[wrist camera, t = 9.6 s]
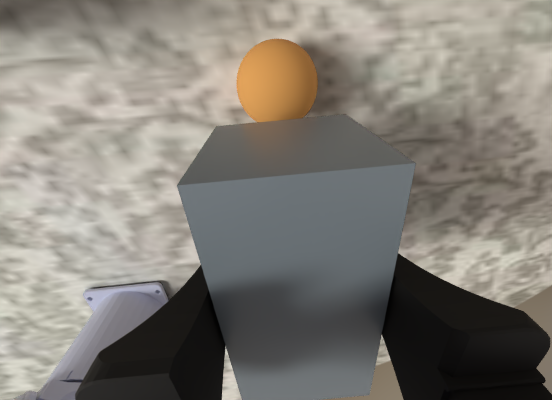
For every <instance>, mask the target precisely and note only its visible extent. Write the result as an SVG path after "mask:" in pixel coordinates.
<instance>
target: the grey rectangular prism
mask: <svg viewBox="0 0 552 400" xmlns="http://www.w3.org/2000/svg"><path fill="white" fill-rule="evenodd" d="M415 165H416V163H415V162H414V161H412V160H411V159H409V158H408V157H406V156H405V155H403V154H402V153H401V152H399V151H398V150H396V149H395V148H393V147H392V146H391V145H389V144H388V143H386V142H385V141H383V140H382V139H381V138H379V137H378V136H376V135H375V134H373V133H372V132H371V131H369V130H368V129H366V128H365V127H363V126H362V125H360V124H359V123H358V122H356V121H355V120H353V119H352V118H350V117H349V116H348V115H346V114H343V115H332V116H321V117H311V118H300V119H289V120H279V121H268V122H257V123H247V124H236V125H226V126H216V127H215V129H214V130H213V132H212V133H211V135H210V136H209V138H208V140H207V141H206V143H205V144H204V146H203V147H202V149H201V150H200V152H199V153H198V155H197V156H196V158H195V159H194V161H193V162H192V164H191V165H190V167H189V168H188V170H187V171H186V173H185V174H184V176H183V177H182V179H181V180H180V182H179V183H178V185H177V187H178V191H179V194H180V197H181V200H182V204H183V207H184V210H185V214H186V217H187V220H188V223H189V227H190V230H191V233H192V237H193V240H194V243H195V246H196V250H197V253H198V256H199V260H200V263H201V266H202V269H203V273H204V276H205V279H206V283H207V286H208V289H209V292H210V296H211V299H212V302H213V305H214V309H215V312H216V315H217V319H218V322H219V325H220V328H221V332H222V335H223V338H224V342H225V345H226V348H227V351H228V355H229V358H230V361H231V365H232V368H233V371H234V374H235V378H236V381H237V384H238V388H239V391H240V394H241V397H242V400H320V399H332V398H341V397H352V396H364V395H369V394H370V389H371V385H372V379H373V374H374V370H375V365H376V360H377V355H378V350H379V345H380V340H381V335H382V330H383V325H384V320H385V315H386V310H387V305H388V300H389V295H390V290H391V285H392V280H393V275H394V270H395V265H396V260H397V255H398V250H399V245H400V240H401V235H402V230H403V225H404V220H405V215H406V210H407V205H408V200H409V195H410V190H411V185H412V180H413V175H414V170H415Z"/></svg>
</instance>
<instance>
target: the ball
mask: <svg viewBox="0 0 552 400" xmlns="http://www.w3.org/2000/svg"><path fill="white" fill-rule="evenodd" d="M317 88H318V78H317V72H316V69H315V66H314V63H313V61H312V60H311V58H310V56H309V55H308V54H307V52H306V51H305V50H304V49H303V48H301V47H300V46H299V45H297V44H295V43H294V42H291V41H289V40H284V39H270V40H266V41H263V42H261V43H259V44H257V45H256V46H254V47H253V48H252V49H251V50H250V51H249V52H248V53H247V54H246V56H245V57H244V58H243V60H242V62H241V64H240V67H239V70H238V74H237V93H238V97H239V100H240V102H241V104H242V106H243V108H244V110H245V111H246V112H247V114H248V115H249V116H250V117H251V118H252V119H254V120H255V121H257V122H268V121H279V120H289V119H300V118H303V117H304V116H305V115H306V114H307V113H308V112H309V110H310V109H311V107H312V105H313V103H314V101H315V98H316V94H317Z"/></svg>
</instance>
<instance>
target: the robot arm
mask: <svg viewBox="0 0 552 400" xmlns="http://www.w3.org/2000/svg"><path fill="white" fill-rule="evenodd" d="M158 290H159V291H158ZM83 296H84V298H85V299H86V301H87V303H88V304H89V306H90V307H91V309H92V310H93V314H92V315H91V317H90V318H89V319H88V321H87V322H86V324H85V325H84V327H83V328H82V330H81V331H80V333H79V334H78V336H77V337H76V339H75V340H74V341H73V343H72V344H71V346H70V347H69V349H68V350H67V352H66V353H65V355H64V356H63V358H62V359H61V361H60V362H59V363H58V365H57V366H56V368H55V369H54V371H53V372H52V374H51V375H50V377H49V378H48V380H47V381H46V382H45V384H44V385H43V387H42V388H41V389H40V390H39V391H38V392H34V391H27V392H25V393H24V394H22V395H20V396H18V397H15V398H13V399H12V400H222V384H223V369H224V356H225V342H224V338H223V335H222V332H221V328H220V325H219V322H218V319H217V315H216V312H215V309H214V305H213V302H212V299H211V296H210V292H209V289H208V286H207V283H206V279H205V276H204V273H203V269H202V266H201V265H200V267H199V268H198V269H197V271H196V272H195V273H194V274H193V275H192V277H191V278H190V279H189V280H188V281H187V282H186V284H185V285H184V286H183V287H182V288H181V289H180V290H179V291H178V292H177V293H176V294H175V295H174V296H173V297H172V298H171V299H170V300H168V298H167V295H166V293H165V290H164V288H163V286H162V284H161V283H159V282H154V283H144V284H135V285H125V286H115V287H106V288H96V289H87V290H85V291H84V293H83ZM382 336H383V338H384V341H385V344H386V347H387V350H388V353H389V356H390V359H391V361H392V364H393V367H394V370H395V373H396V376H397V380H398V383H399V386H400V389H401V392H402V396H403V399H404V400H552V394H551V393H550V392H549V391H548V390H547V388H546V387H545V386H544V385H543V384H542V383H544V382H545V378H544V377H543V375H542V374H541V373H540V372H539V371H538V370H537V369H536V368H537V366H538V365H539V363H540V362H541V360H542V359H543V358H544V356H545V355H546V353H547V352H548V350H549V348H550V337H549V336H548V334H547V333H546V332H545V331H544V330H543V329H542V328H541V327H540V326H539V325H538V324H537V323H536V322H534V321H533V320H532V319H531V318H530V317H529V316H528V315H527V314H526V313H525V312H524V311H521V310H518V309H515V308H512V307H509V306H506V305H503V304H500V303H497V302H494V301H492V300H489V299H486V298H484V297H481V296H479V295H476V294H474V293H471V292H469V291H466V290H464V289H462V288H459V287H457V286H455V285H453V284H451V283H449V282H446V281H444V280H442V279H440V278H438V277H436V276H435V275H433V274H431V273H429V272H427V271H426V270H424V269H422V268H420V267H419V266H417V265H415V264H414V263H412V262H411V261H409V260H407V259H406V258H404V257H403V256H401V255H400V254H398V255H397V260H396V265H395V270H394V275H393V280H392V285H391V290H390V295H389V300H388V305H387V310H386V315H385V320H384V325H383V330H382Z"/></svg>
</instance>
